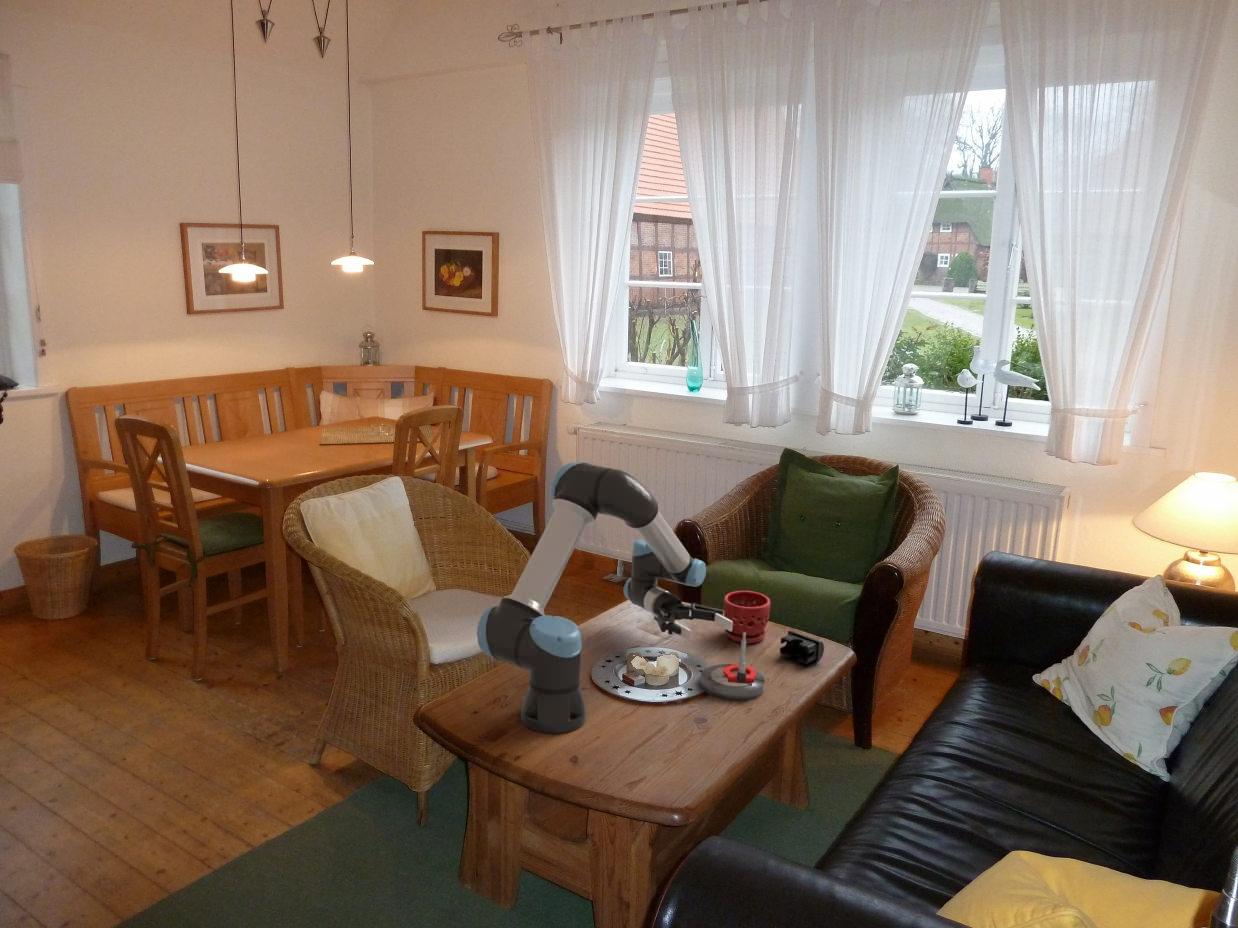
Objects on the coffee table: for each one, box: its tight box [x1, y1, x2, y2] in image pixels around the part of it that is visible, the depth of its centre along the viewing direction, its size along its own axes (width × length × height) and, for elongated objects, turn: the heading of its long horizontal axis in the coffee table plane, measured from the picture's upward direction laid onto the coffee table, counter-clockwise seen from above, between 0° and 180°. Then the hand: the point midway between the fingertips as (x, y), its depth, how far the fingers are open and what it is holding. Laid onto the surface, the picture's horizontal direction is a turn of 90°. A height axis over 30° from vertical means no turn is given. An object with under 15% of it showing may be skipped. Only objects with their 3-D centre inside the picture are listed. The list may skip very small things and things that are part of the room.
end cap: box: [779, 630, 825, 669], centre depth 263 cm, size 10×7×7 cm
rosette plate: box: [700, 663, 766, 702], centre depth 245 cm, size 16×16×3 cm
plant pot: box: [723, 590, 771, 644], centre depth 276 cm, size 13×13×12 cm
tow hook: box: [723, 632, 757, 683], centre depth 244 cm, size 8×13×9 cm
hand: (711, 630), depth 251 cm, fingers open, 13 cm apart
